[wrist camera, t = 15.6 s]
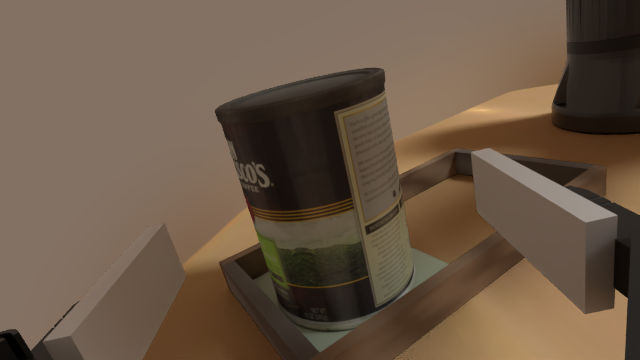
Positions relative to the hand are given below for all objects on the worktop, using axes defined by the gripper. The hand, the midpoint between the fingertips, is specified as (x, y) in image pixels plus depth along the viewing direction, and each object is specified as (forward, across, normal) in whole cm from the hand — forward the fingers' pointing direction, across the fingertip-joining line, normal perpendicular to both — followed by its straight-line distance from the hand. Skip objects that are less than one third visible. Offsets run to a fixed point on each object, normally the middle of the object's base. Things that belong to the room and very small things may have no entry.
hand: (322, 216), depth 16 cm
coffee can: (+9, 0, -10) cm, 13 cm away
